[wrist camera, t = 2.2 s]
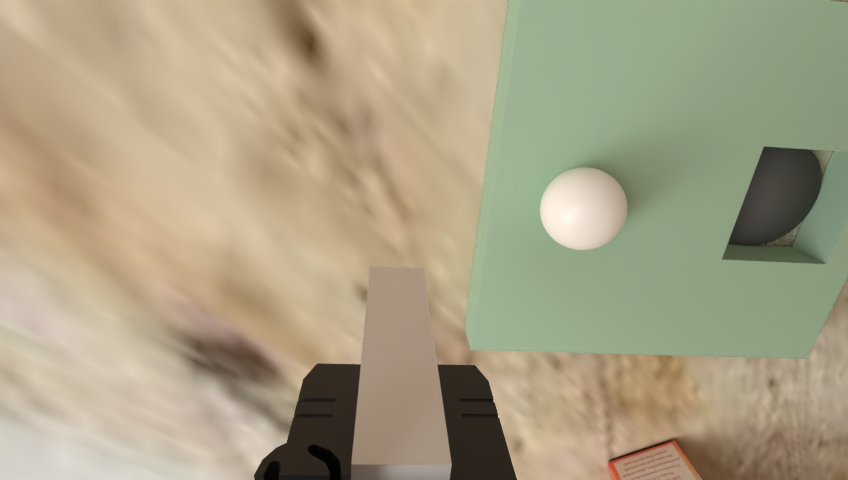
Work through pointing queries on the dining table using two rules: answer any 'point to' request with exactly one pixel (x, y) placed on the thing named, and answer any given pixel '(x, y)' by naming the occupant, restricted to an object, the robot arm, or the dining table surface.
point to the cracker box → (655, 465)
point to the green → (668, 177)
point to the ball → (583, 208)
